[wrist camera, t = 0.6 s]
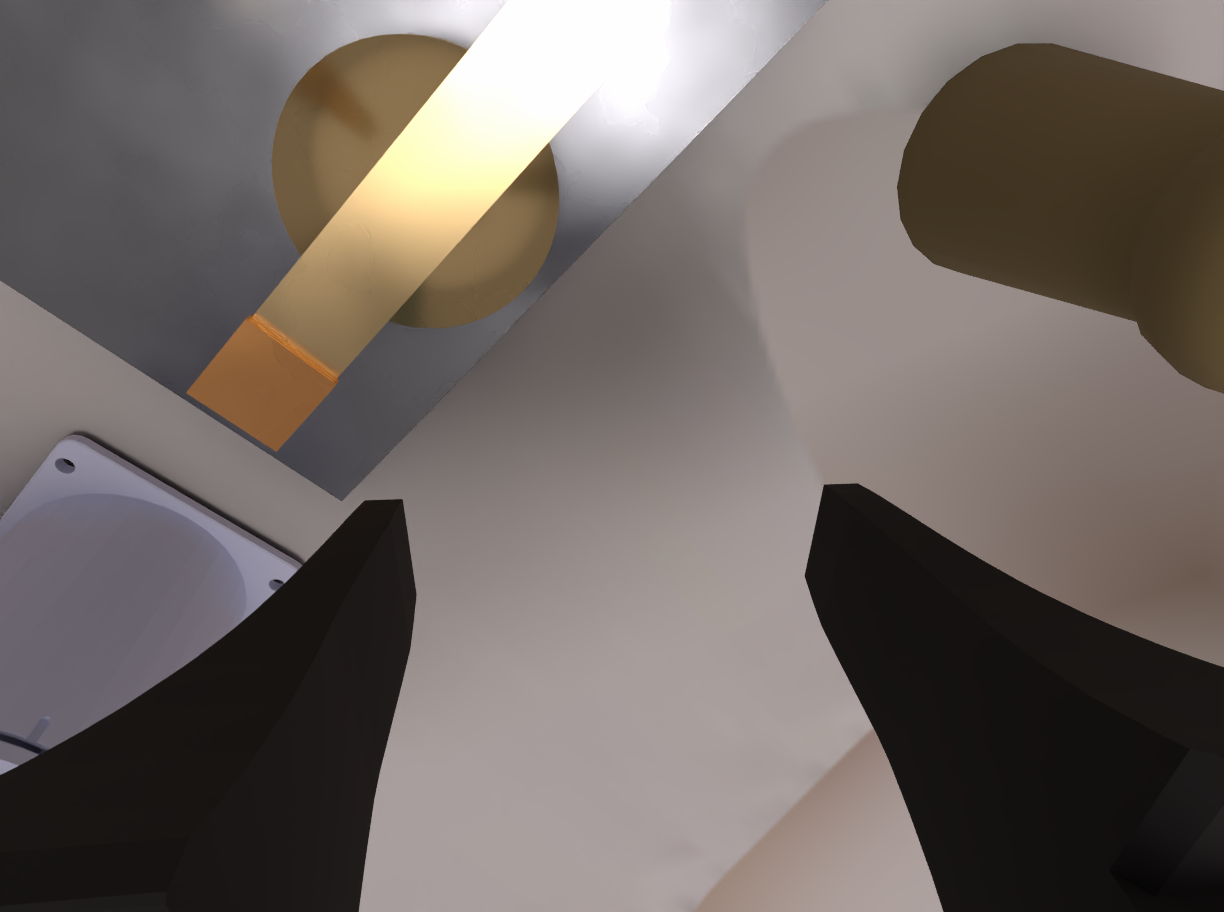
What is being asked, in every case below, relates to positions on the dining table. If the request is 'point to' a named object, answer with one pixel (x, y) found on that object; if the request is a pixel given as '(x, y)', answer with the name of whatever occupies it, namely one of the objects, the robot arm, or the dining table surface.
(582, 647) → the dining table surface
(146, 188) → the plate
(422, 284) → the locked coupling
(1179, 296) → the cork
